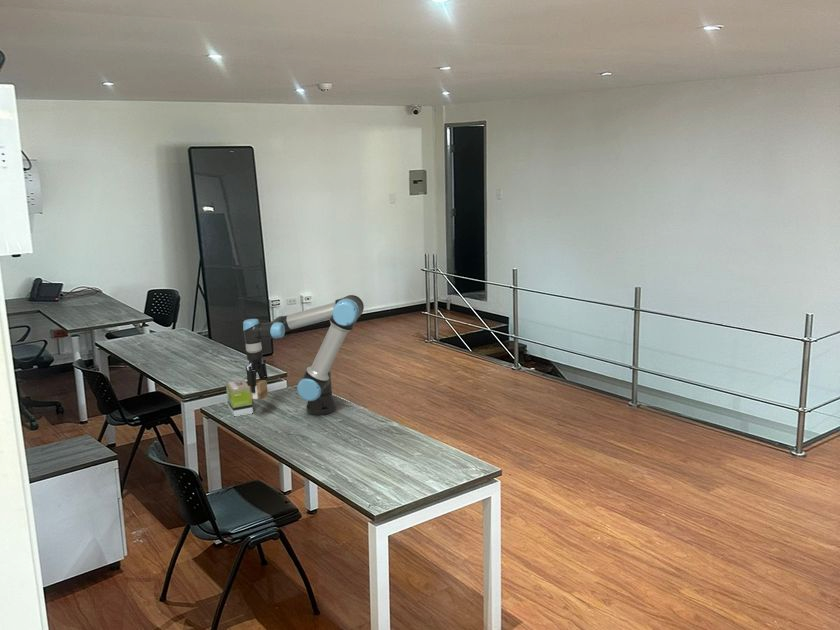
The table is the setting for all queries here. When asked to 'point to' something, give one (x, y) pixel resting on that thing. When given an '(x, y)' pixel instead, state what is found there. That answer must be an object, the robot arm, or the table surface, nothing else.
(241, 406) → the tea box
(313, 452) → the table surface
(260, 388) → the walnut block
